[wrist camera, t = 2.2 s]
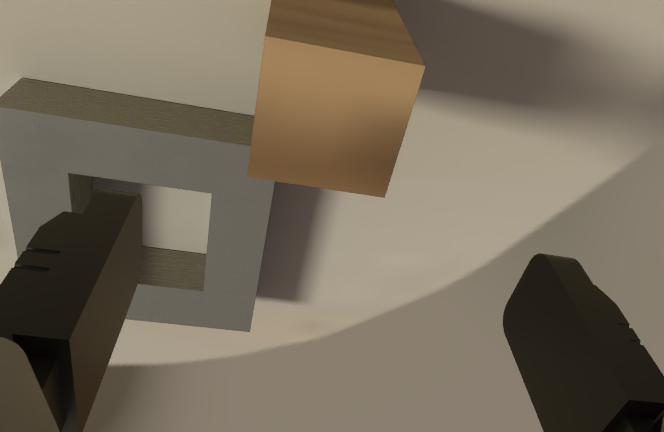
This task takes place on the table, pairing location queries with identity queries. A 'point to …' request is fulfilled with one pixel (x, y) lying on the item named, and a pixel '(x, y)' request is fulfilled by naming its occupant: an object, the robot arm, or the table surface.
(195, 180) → the collar
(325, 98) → the wooden square peg
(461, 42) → the table surface
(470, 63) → the table surface
